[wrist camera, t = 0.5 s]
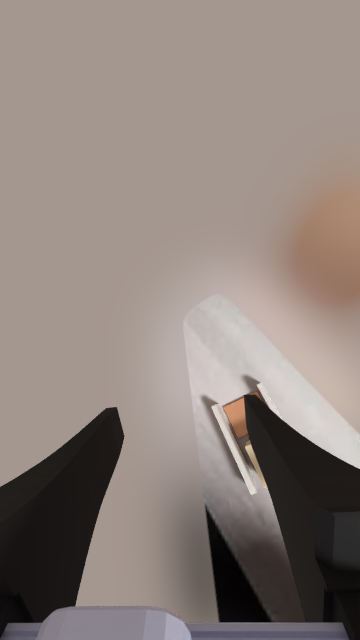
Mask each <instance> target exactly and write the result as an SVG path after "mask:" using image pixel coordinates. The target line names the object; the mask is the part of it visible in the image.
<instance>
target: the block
mask: <svg viewBox="0 0 360 640" xmlns="http://www.w3.org/2000/svg"><path fill="white" fill-rule="evenodd" d="M245 448H246V450H247V453H248V455H249V457H250V459H251V461H252V463H253V465H254V467H255V469H256V471H257V473H258V475H259V478H260V480H261V482H262V484H263V486H264V488H265V489H266V488H267V485H266V482H265V480H264V477H263V475H262V472H261V470H260V467H259V464H258V462H257V459H256V457H255V454H254V451H253V449H252V446H251V443H250V440H249V441H247V443H246V445H245Z"/></svg>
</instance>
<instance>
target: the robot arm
mask: <svg viewBox="0 0 360 640" xmlns="http://www.w3.org/2000/svg"><path fill="white" fill-rule="evenodd" d="M244 405H245V418H246V428H247V431H248V435H249V439H250V443H251V446H252V449H253V451H254V454H255V457H256V459H257V462H258V464H259V467H260V470H261V472H262V475H263V477H264V480H265V482H266V485H267V488H268V490H269V493H270V496H271V499H272V502H273V505H274V509H275V512H276V515H277V519H278V522H279V526H280V529H281V533H282V536H283V540H284V543H285V547H286V550H287V554H288V557H289V561H290V564H291V568H292V572H293V575H294V579H295V582H296V586H297V590H298V593H299V597H300V601H301V605H302V608H303V612H304V616H305V620H306V623H184V622H183V620H182V619H181V617H180V616H178V615H176V614H175V613H173V612H171V611H169V610H167V609H164V608H158V607H151V606H101V607H100V606H93V607H92V606H91V607H75V605H76V600H77V595H78V591H79V587H80V583H81V578H82V574H83V570H84V566H85V562H86V557H87V554H88V550H89V546H90V542H91V538H92V535H93V531H94V527H95V524H96V520H97V517H98V513H99V510H100V507H101V504H102V501H103V498H104V495H105V493H106V490H107V488H108V485H109V482H110V480H111V477H112V474H113V472H114V469H115V467H116V464H117V461H118V458H119V455H120V452H121V448H122V444H123V440H124V433H123V429H122V426H121V422H120V418H119V414H118V410H117V407H113V408H106V409H105V410H104V411H103V412H101V413H100V414H99V415H98V416H97V417H96V418H95V419H93V420H92V421H91V422H90V423H89V424H88V425H87V426H85V428H83V429H82V430H81V431H80V432H79V433H78V434H76V435H75V436H74V437H73V438H71V439H70V440H69V441H68V442H67V443H65V444H64V445H63V446H62V447H61V448H59V449H58V450H57V451H56V452H54V453H53V454H51V455H50V456H49V457H47V458H46V459H44V460H43V461H42V462H40V463H39V464H37V465H36V466H34V467H32V468H31V469H29V470H28V471H26V472H25V473H23V474H21V475H20V476H18V477H17V478H15V479H13V480H12V481H10V482H8V483H7V484H5V485H3V486H1V487H0V640H360V469H358V468H356V467H354V466H352V465H350V464H348V463H346V462H345V461H343V460H341V459H339V458H337V457H335V456H334V455H332V454H330V453H329V452H327V451H325V450H323V449H322V448H320V447H319V446H317V445H315V444H314V443H312V442H311V441H310V440H308V439H307V438H305V437H304V436H302V435H301V434H299V433H298V432H297V431H296V430H294V429H293V428H292V427H290V426H289V425H288V424H287V423H286V422H284V421H283V420H282V419H281V418H280V417H279V416H278V415H276V414H275V413H274V412H273V411H272V410H271V409H270V408H269V407H268V406H267V405H266V404H265V403H264V402H263V401H262V400H261V399H260V398H259V397H258V396H257V395H255V394H252V395H244Z"/></svg>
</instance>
